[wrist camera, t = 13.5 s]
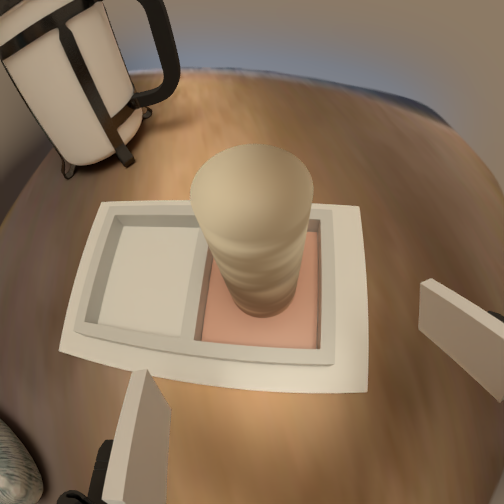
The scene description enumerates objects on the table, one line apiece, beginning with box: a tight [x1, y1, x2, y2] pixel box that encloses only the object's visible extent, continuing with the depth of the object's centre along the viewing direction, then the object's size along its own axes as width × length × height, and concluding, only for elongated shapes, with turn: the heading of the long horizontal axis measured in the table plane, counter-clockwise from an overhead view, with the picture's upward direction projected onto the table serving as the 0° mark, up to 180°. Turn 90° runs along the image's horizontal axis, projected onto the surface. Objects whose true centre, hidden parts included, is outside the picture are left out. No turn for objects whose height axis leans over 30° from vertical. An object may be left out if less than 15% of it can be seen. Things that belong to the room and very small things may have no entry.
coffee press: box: [0, 0, 180, 179], centre depth 20 cm, size 17×16×30 cm
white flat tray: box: [59, 200, 368, 393], centre depth 23 cm, size 26×16×3 cm, turn 85°
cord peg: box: [190, 144, 313, 318], centre depth 17 cm, size 5×5×12 cm
